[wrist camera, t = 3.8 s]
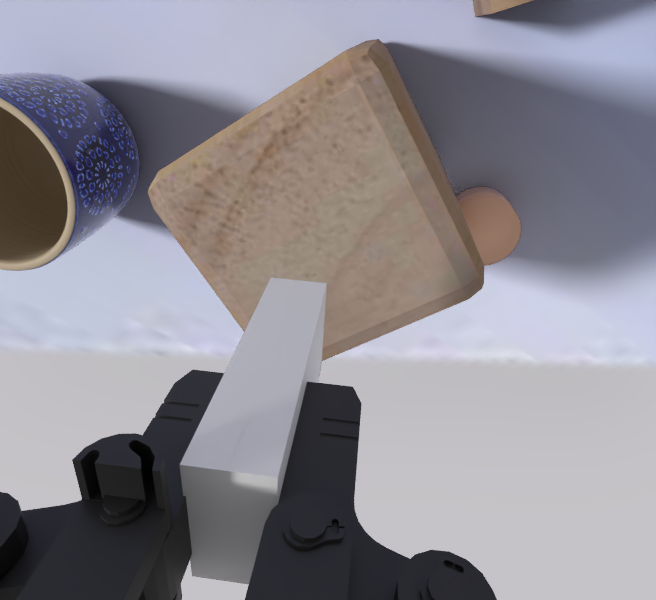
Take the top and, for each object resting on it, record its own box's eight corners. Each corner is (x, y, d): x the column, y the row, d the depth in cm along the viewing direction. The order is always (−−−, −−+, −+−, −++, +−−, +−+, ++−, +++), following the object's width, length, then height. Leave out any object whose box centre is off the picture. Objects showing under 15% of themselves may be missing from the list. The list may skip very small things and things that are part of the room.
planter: (183, 136, 37) (109, 174, 27) (117, 240, 42) (34, 305, 32) (49, 31, 34) (-85, 31, 25) (-4, 154, 39) (-134, 196, 29)
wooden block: (444, 167, 36) (499, 298, 18) (325, 229, 39) (275, 390, 22) (380, 32, 32) (372, 33, 15) (255, 112, 35) (126, 191, 18)
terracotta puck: (438, 246, 39) (442, 262, 36) (449, 183, 37) (454, 195, 34) (503, 252, 39) (511, 268, 36) (518, 189, 36) (529, 201, 34)
